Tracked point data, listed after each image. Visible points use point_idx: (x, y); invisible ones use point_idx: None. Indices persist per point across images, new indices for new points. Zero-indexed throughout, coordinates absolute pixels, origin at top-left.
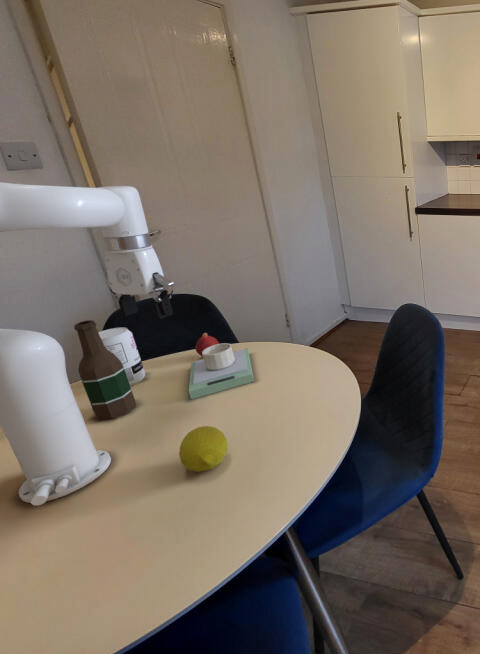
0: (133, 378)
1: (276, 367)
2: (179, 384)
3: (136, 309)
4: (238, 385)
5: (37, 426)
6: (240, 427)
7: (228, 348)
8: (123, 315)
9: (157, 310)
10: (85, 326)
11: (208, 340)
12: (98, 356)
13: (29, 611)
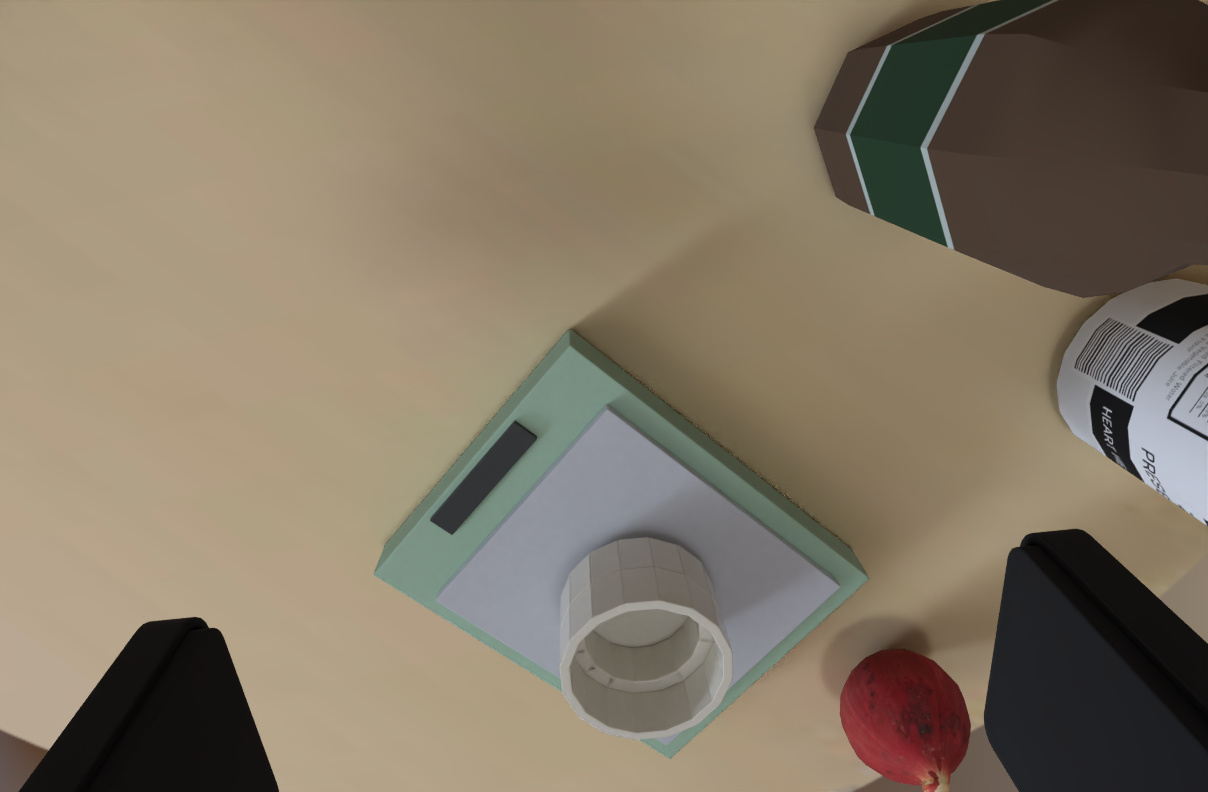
0: (1081, 369)
1: (396, 674)
2: (790, 422)
3: (1011, 754)
4: (427, 495)
5: None
6: (6, 198)
7: (572, 695)
8: (1052, 534)
9: (40, 766)
10: None
11: (887, 748)
12: (1123, 128)
13: None
